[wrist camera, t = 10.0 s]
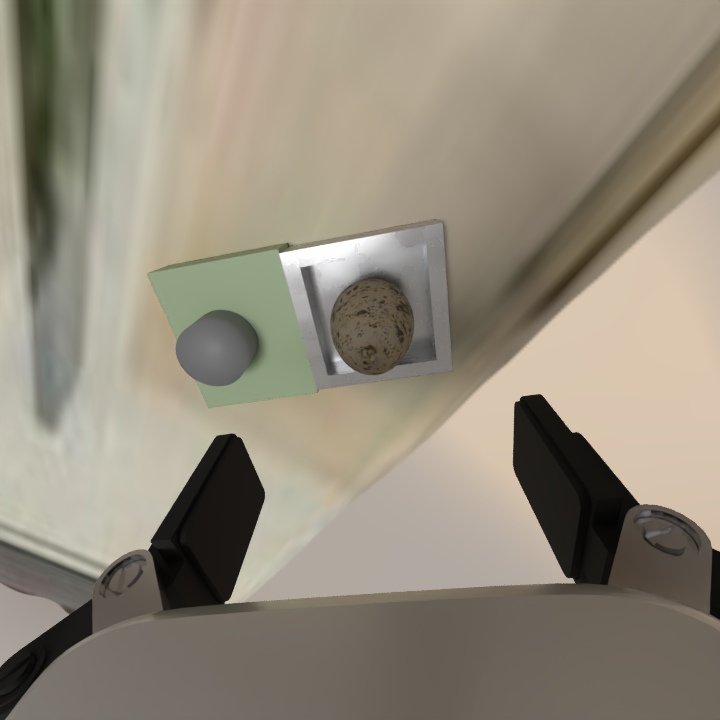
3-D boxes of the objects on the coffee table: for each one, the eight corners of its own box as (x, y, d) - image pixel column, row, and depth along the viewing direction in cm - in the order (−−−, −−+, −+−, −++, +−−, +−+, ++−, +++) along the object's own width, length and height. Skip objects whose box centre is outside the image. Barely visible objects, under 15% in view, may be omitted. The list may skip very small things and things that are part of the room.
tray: (435, 219, 25) (442, 222, 23) (445, 354, 30) (452, 370, 28) (288, 246, 26) (279, 253, 24) (321, 372, 31) (316, 389, 29)
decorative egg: (329, 329, 29) (310, 392, 20) (344, 260, 26) (331, 297, 17) (396, 346, 29) (407, 414, 20) (417, 279, 27) (441, 325, 18)
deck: (287, 242, 26) (265, 256, 21) (322, 375, 32) (312, 413, 26) (168, 265, 27) (119, 284, 22) (221, 390, 33) (192, 429, 27)
